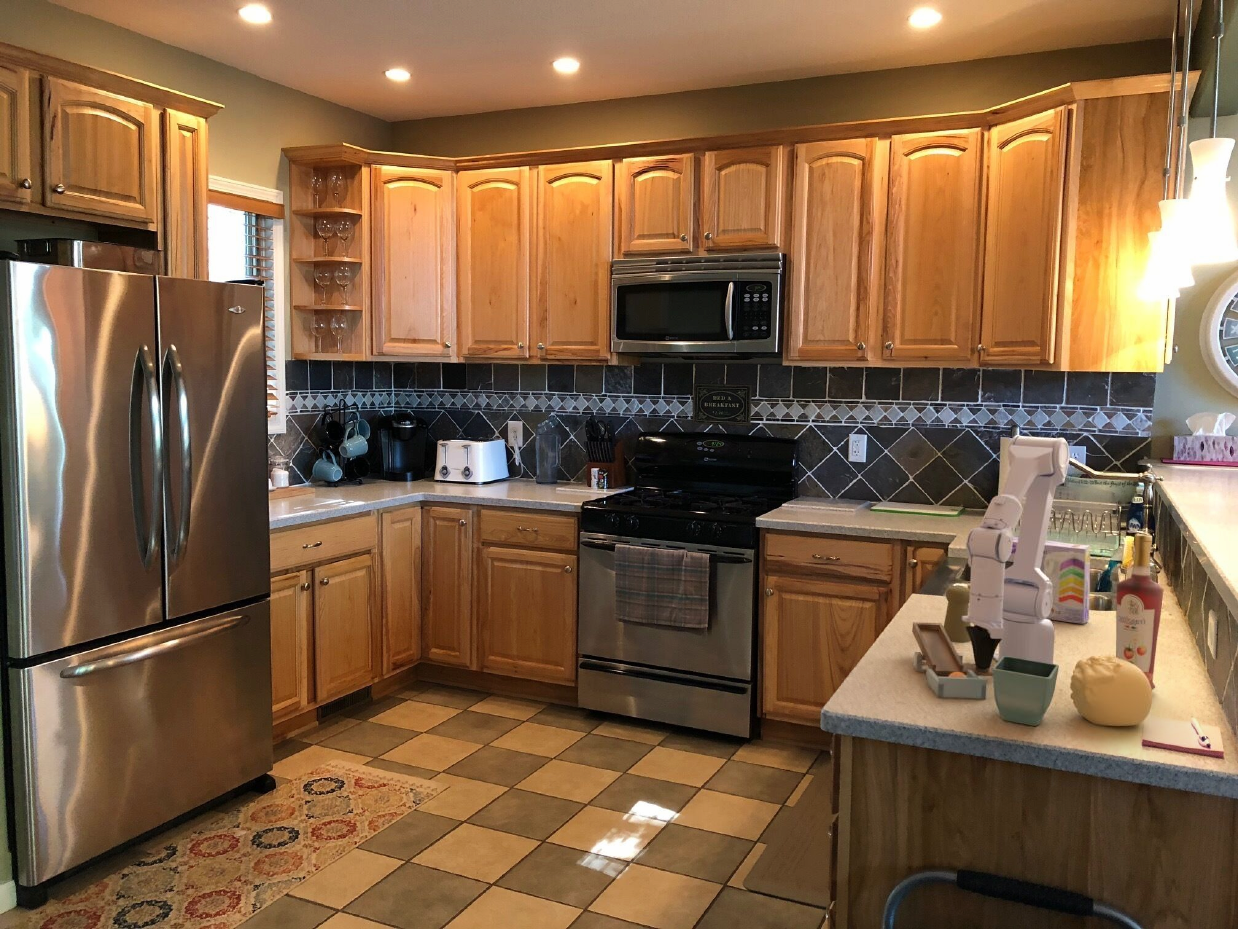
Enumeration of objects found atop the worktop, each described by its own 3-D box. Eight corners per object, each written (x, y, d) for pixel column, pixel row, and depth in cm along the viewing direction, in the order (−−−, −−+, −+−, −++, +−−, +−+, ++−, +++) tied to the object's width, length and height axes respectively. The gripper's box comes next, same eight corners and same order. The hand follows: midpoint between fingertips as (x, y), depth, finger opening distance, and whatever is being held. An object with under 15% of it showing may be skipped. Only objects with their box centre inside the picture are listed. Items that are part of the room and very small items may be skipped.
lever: (969, 636, 196) (971, 624, 195) (994, 681, 180) (996, 667, 180) (910, 635, 197) (912, 622, 196) (930, 678, 181) (932, 665, 180)
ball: (963, 685, 176) (966, 668, 175) (969, 696, 173) (971, 679, 172) (943, 685, 177) (946, 667, 175) (948, 695, 173) (951, 678, 172)
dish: (970, 683, 180) (971, 664, 179) (985, 699, 171) (986, 679, 171) (926, 682, 180) (926, 663, 180) (938, 697, 172) (939, 678, 171)
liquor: (1162, 692, 177) (1174, 536, 174) (1146, 700, 172) (1157, 540, 169) (1120, 681, 182) (1130, 530, 179) (1103, 689, 177) (1113, 534, 175)
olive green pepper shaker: (940, 640, 208) (943, 588, 207) (942, 633, 214) (945, 582, 213) (971, 643, 206) (973, 591, 205) (972, 636, 212) (975, 585, 211)
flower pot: (1047, 734, 155) (1050, 678, 155) (988, 722, 160) (991, 668, 159) (1056, 717, 163) (1059, 664, 162) (999, 707, 168) (1002, 655, 167)
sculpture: (1063, 705, 169) (1067, 643, 168) (1141, 713, 165) (1146, 650, 164) (1073, 728, 158) (1077, 662, 157) (1157, 737, 155) (1162, 670, 153)
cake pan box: (996, 611, 234) (1000, 537, 232) (1003, 608, 238) (1008, 535, 236) (1082, 626, 222) (1087, 548, 220) (1089, 622, 225) (1094, 545, 224)
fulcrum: (958, 669, 188) (959, 652, 188) (962, 673, 186) (963, 656, 185) (913, 667, 189) (914, 651, 188) (916, 671, 186) (917, 655, 186)
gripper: (952, 584, 187) (949, 655, 188) (976, 602, 173) (972, 678, 174) (991, 585, 187) (987, 656, 188) (1017, 603, 172) (1013, 680, 174)
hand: (982, 667), depth 181 cm, fingers closed
